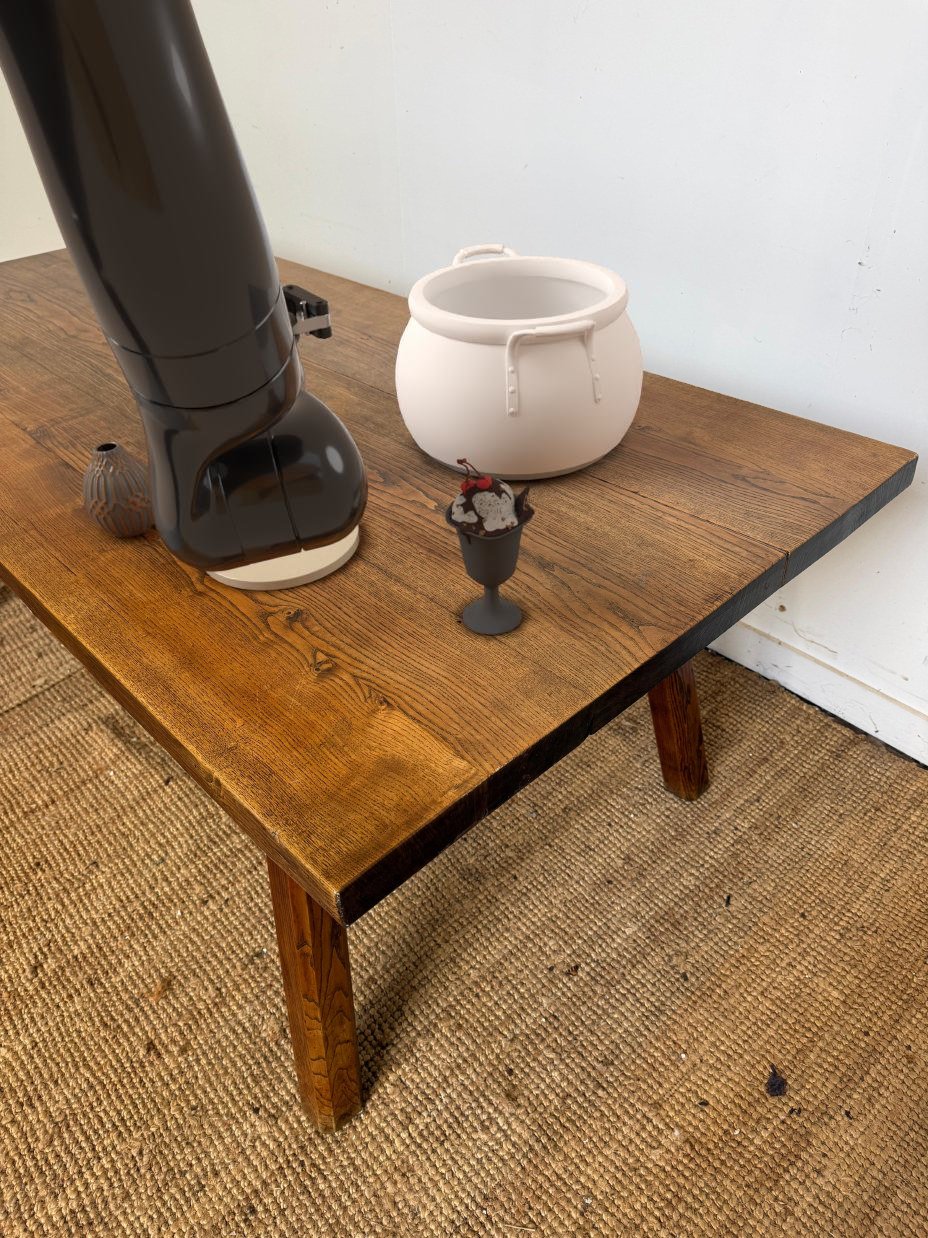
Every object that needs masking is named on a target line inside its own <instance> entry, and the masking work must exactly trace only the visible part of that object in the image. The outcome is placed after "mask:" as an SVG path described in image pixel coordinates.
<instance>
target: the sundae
mask: <svg viewBox="0 0 928 1238" xmlns="http://www.w3.org/2000/svg"><path fill="white" fill-rule="evenodd" d="M457 463H458V464H460V465H463V466H464V467H466V469H467V474H466V478H465V480H464V481H463V482H461V484H460V491H461V492H460V493H459V494H458V495H457V496H456V498H455V499H453V500H452V501H451V503H450V504H449V505H448V506H447V509H446V511H445V514H444V515H445V516H444V517H445V518H444V519H445V522H446V523H447V524H448V525H449V526H451V527H452V528H454V529H455V531H456V534H457V537H458V540H459V545H460V551H461V556H462V562H463V565H464V569H465V571H466V574H467V576H468V577H469V578H470V579H472V580H473V581H474V582H475V583H476V584H478V585H481V586H483V598H481V599H478V600H475V601H473V602H472V603H471V604H469V605H468V606H466V607H465V609H464V610H463V613H462V622H463V624H464V625H465V626H466V627H467V628H468V629H469V630H471V631H473V632H474V633H477V634H480V635H486V636H496V635H503V634H507V633H509V632H511V631H512V630H514V629H515V628H517V627H518V626H519V625H520V623H521V621H522V619H523V615H522V614H523V613H522V610H521V609H520V607H519V606H517V604H516V603H514V602H512V601H510V600H508V599H505V598H502V597H500V586H501V585H503V584H505V582H507V581H508V580H510V578H511V577H512V576H513V575H514V574H515V572H516V569H517V566H518V565H517V564H518V560H519V554H520V547H521V538H522V534H523V530H524V526H526V525H527V524H528V523H530V522H531V520H533V518H534V515H535V513H536V511H535V509H534V508H533V507H532V506H531V505H530V503H529V502H528V501H529V495H530V489H531V487H530V486H529V485H527V486H526V487H525V488H524V489H522V491H520V493H519V494H516V493H514V492H513V490H512V488H511V486H510V485H509V484H508V483H505V482H504V481H502V480H501V479H494V478H490V477H488V476H481V474H480V473H479V472H478V471H477V470H476V469H475V468H474V467H473V466H472V465H471V464H470V463H468V462H466V458H464V459H457ZM463 463H466V464H468V465H469V466H471V467H472V469H473V470H474V471H475V472H476V473H477V474H478V475H479V477H478V478H477V480H476V481H474V480H471V479H470V476H471V475H470V473H469V469H468V467H467V466H466V465H464V464H463Z"/></svg>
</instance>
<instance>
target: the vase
mask: <svg viewBox="0 0 928 1238" xmlns="http://www.w3.org/2000/svg"><path fill="white" fill-rule="evenodd" d="M81 485H82V486H81V488H82V489H81V490H82V492H81V493H82V499H83V502H84V506H85V508H86V510H87V512H88V514H89V516H90V518H91V519H92V520H93V522H94V523H95V525H96V526H98V527H99V528H100V529H101V530H103V531H104V532H106V533H108V534H110V535H113V536H115V537H119V538H131V537H135V536H138V535H141V534H143V533H145V532H147V531H149V530H150V529H151V528H152V527H153V525H155V523H154V520H153V516H152V511H151V505H150V496H149V482H148V465H146V463H144V462H143V461H142V460H140V459H139V458H137V457H136V456H134V455H133V454H132V453H130V452H129V451H127V450H126V449H125V448H124V447H123V446H122V445H121V444H120V443H119V442H118V441H115V440H108V441H103V442H100V443H98V444H96V445H95V446H93V448H92V456H91V459H90V462H89V463H88V465H87V468H86V470H85V472H84V475H83V477H82V484H81Z"/></svg>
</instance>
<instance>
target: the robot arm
mask: <svg viewBox="0 0 928 1238" xmlns="http://www.w3.org/2000/svg"><path fill="white" fill-rule="evenodd" d="M193 7H194V6H193V4H192V1H191V0H0V69H1V73H2V75H3V78H4V79H5V83H6V85H7V89H8V91H9V94H10V97H11V100H12V102H13V105H14V108H15V110H16V114H17V116H18V119H19V122H20V124H21V127H22V129H23V130H22V131H23V133H24V135H25V138H26V141H27V145H28V148H29V150H30V153H31V155H32V159H33V161H34V164H35V167H36V170H37V173H38V174H39V178H40V181H41V184H42V187H43V189H44V192H45V195H46V198H47V200H48V203H49V206H50V209H51V211H52V214H53V217H54V220H55V222H56V226H57V227H58V230H59V233H60V235H61V237H62V240H63V243H64V246H65V248H66V251H67V254H68V255H69V258H70V260H71V263H72V265H73V267H74V268H73V269H74V270H75V273H76V275H77V277H78V280H79V282H80V285H81V287H82V289H83V291H84V293H85V296H86V298H87V300H88V302H89V303H88V304H89V305H90V307H91V309H92V312H93V314H94V316H95V317H96V318H95V319H96V321H97V322H98V324H99V326H100V329H101V331H102V333H103V335H104V337H105V339H106V341H107V343H108V345H109V347H110V349H111V351H112V354H113V355H114V359H115V360H116V363H117V364H118V366H119V368H120V370H121V372H122V375H123V376H124V378H125V381H126V382H127V385H128V387H129V389H130V391H131V394H132V396H133V399H134V402H135V404H136V406H137V411H138V413H139V416H140V420H141V423H142V427H143V432H144V433H143V434H144V438H145V447H146V454H147V467H148V482H149V496H150V505H151V511H152V516H153V520H154V527H155V529H156V532H157V534H158V537H159V538H160V540H161V542H162V544H163V546H164V547H165V548H166V549H167V551H168V552H169V553H170V554H171V555H172V556H173V557H175V559H177V560H178V561H179V562H181V563H183V564H184V565H187V566H188V567H190V568H193V569H195V570H198V571H203V572H206V571H207V572H218V571H226V570H231V569H235V568H239V567H244V566H248V565H250V564H255V563H259V562H263V561H268V560H272V559H276V558H280V557H284V556H288V555H292V554H297V553H301V551H302V548H303V550H304V551H309V550H313V549H317V548H321V547H325V546H329V545H332V544H334V543H336V542H339V541H341V540H342V539H344V538H346V537H347V536H348V535H349V534H350V533H351V532H352V531H353V530H354V529H355V528H356V526H357V525H358V526H359V524H360V522H361V520H362V518H363V517H364V514H365V511H366V509H367V504H368V498H369V481H368V478H367V477H368V475H367V471H366V467H365V463H364V460H363V458H362V457H363V456H362V454H361V452H360V449H359V448H358V446H357V444H356V442H355V440H354V439H353V437H352V435H351V433H350V432H349V430H348V428H347V427H346V426H345V424H344V423H343V422H342V420H341V419H340V418H339V416H338V415H336V413H335V412H334V411H333V410H332V409H331V408H330V407H329V406H328V405H327V404H326V403H324V402H323V401H322V400H321V399H319V398H318V397H317V396H316V395H314V394H313V393H311V392H310V391H308V390H306V373H305V369H304V364H303V361H302V358H301V354H300V351H299V348H298V343H299V342H300V339H301V335H302V334H304V336H305V337H309V336H313V337H315V338H317V339H319V340H327V339H329V338H331V337H333V328H332V322H331V315H330V307H329V300H326V299H325V298H322V297H320V296H318V295H317V294H315V293H313V292H310V291H309V290H307V289H305V288H303V287H300V286H299V285H295V284H293V283H290V284H286V285H284V286H283V285H282V282H281V278H280V274H279V269H278V265H277V262H276V258H275V255H274V250H273V247H272V245H271V244H272V243H271V240H270V237H269V233H268V229H267V226H266V223H265V219H264V216H263V212H262V210H261V206H260V203H259V202H260V201H259V200H258V196H257V193H256V190H255V187H254V183H253V181H252V177H251V175H250V172H249V169H248V166H247V163H246V161H245V157H244V155H243V152H242V148H241V146H240V143H239V140H238V137H237V134H236V131H235V128H234V125H233V123H232V121H231V120H232V119H231V117H230V114H229V111H228V108H227V105H226V103H225V100H224V97H223V95H222V92H221V89H220V88H221V87H220V85H219V82H218V80H217V77H216V74H215V71H214V68H213V64H212V63H211V60H210V56H209V54H208V51H207V47H206V44H205V42H204V39H203V36H202V33H201V30H200V27H199V23H198V20H197V17H196V13H195V11H194V8H193ZM207 572H206V573H207Z"/></svg>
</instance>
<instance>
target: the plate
mask: <svg viewBox="0 0 928 1238" xmlns="http://www.w3.org/2000/svg"><path fill="white" fill-rule="evenodd" d="M359 543H360V529H359V524H358V525H357V526H356V528H355V529H354V530H353V531H352V532H351V533H350V534H349V535H348V536H347V537H346V538H344V539H342V540H341V541H339V542H336V543H334V544H332V545H329V546H325V547H321V548H317V549H313V550H309V551H304V550H303V548H302V551H301V553H297V554H292V555H288V556H284V557H280V558H276V559H272V560H268V561H263V562H259V563H255V564H250V565H248V566H244V567H239V568H235V569H231V570H226V571H218V572H207V571H205V572H206V574H208V575H209V577H211V578H212V579H214V580H215V581H217V582H219V583H220V584H223V585H225V586H228V587H232V588H235V589H241V590H247V591H248V590H249V591H277V590H284V589H289V588H290V589H291V588H295V587H299V586H303V585H306V584H310V583H312V582H315V581H317V580H318V581H319V580H321V579H322V578H324V577H326V576H328V575H330V574H332V573H333V572H335V571H337V570H338V569H340V568H341V567H342V566H344V564H346V563H347V562H348V561H349V560H350V559H351V558H352V556H353V555H354V554H355V552H356V551H357V549H358V546H359Z"/></svg>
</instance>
